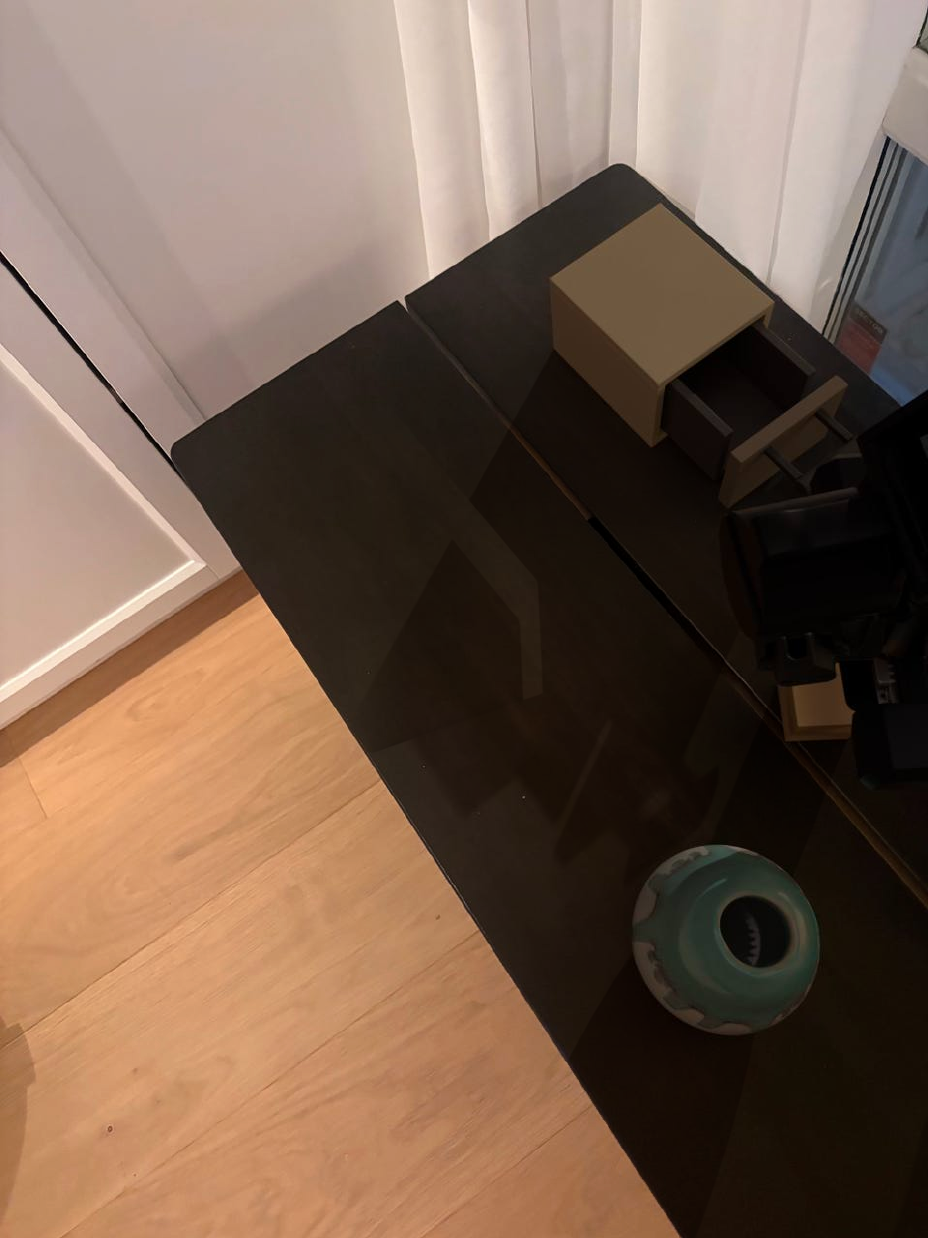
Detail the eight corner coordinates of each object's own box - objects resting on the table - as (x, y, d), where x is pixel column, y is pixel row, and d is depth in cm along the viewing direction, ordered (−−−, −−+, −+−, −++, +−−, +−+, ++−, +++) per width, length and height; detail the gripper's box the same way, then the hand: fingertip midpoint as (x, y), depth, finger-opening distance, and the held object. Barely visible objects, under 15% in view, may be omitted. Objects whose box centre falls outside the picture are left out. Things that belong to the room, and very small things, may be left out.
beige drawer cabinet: (755, 372, 79) (775, 301, 71) (651, 447, 78) (658, 385, 69) (653, 278, 84) (660, 202, 75) (553, 348, 83) (548, 278, 74)
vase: (755, 831, 66) (811, 786, 49) (828, 997, 61) (917, 1009, 45) (604, 884, 66) (608, 857, 49) (666, 1054, 61) (694, 1087, 45)
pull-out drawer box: (867, 475, 73) (895, 425, 67) (768, 549, 72) (786, 507, 65) (721, 342, 79) (733, 284, 73) (628, 408, 78) (631, 356, 72)
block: (838, 680, 69) (854, 662, 65) (848, 738, 67) (865, 723, 63) (776, 683, 69) (788, 665, 65) (785, 741, 68) (797, 727, 63)
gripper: (744, 402, 47) (707, 534, 61) (795, 761, 40) (740, 815, 55) (972, 383, 46) (880, 523, 60) (1064, 752, 39) (935, 809, 53)
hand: (854, 660), depth 57 cm, fingers open, 3 cm apart
